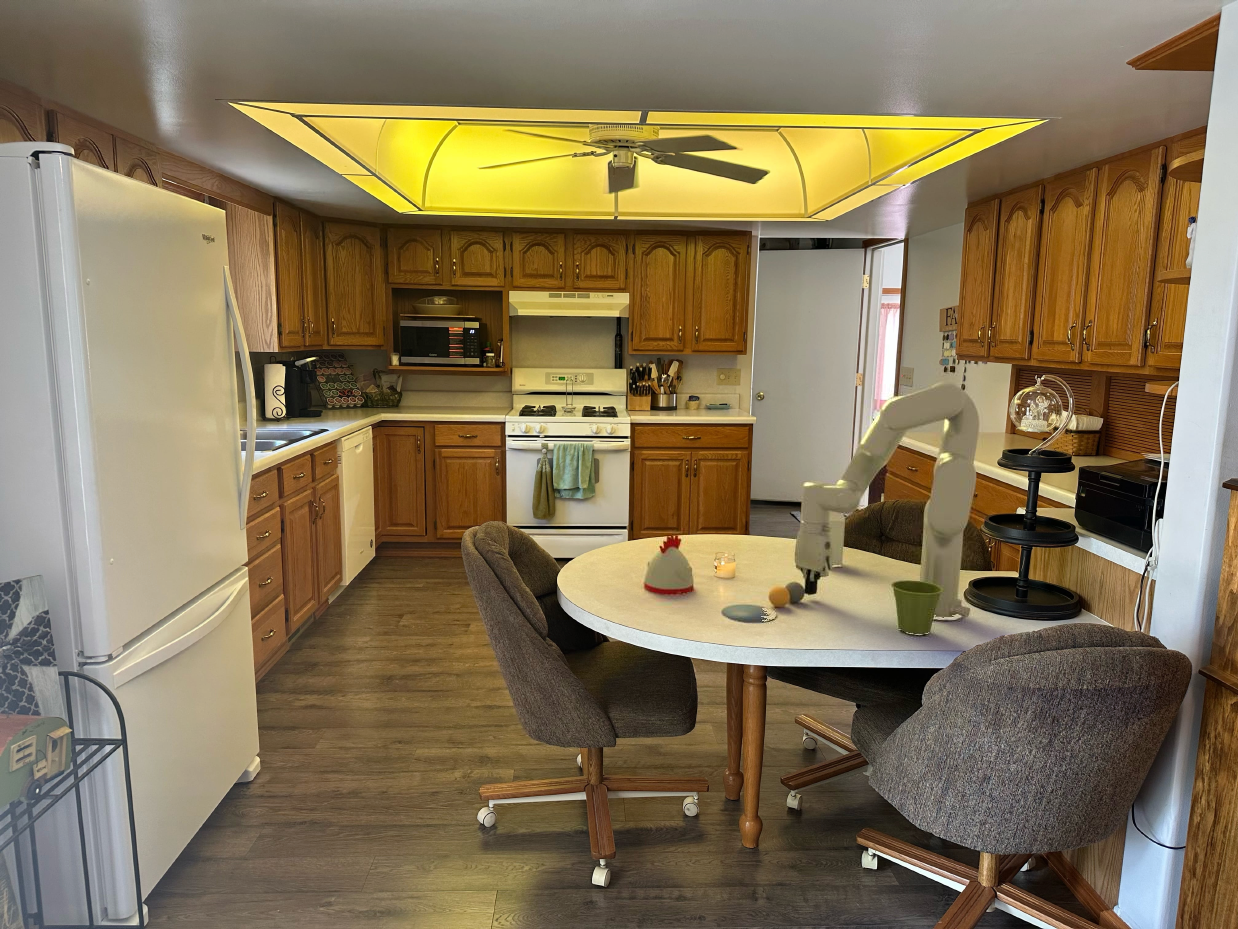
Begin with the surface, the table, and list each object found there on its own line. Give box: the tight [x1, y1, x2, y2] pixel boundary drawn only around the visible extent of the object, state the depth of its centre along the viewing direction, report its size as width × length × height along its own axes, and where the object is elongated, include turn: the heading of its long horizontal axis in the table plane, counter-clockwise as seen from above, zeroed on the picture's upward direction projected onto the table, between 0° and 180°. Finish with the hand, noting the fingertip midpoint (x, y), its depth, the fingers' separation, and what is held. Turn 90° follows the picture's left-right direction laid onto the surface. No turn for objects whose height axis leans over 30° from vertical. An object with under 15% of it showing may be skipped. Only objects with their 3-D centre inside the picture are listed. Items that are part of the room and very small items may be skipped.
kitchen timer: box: [643, 534, 694, 596], centre depth 233 cm, size 14×14×15 cm
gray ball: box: [784, 581, 806, 603], centre depth 223 cm, size 6×6×6 cm
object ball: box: [768, 585, 790, 608], centre depth 219 cm, size 6×6×6 cm
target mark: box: [721, 603, 770, 623], centre depth 213 cm, size 14×14×1 cm
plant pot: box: [890, 580, 943, 635], centre depth 202 cm, size 12×12×11 cm
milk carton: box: [829, 511, 846, 566], centre depth 262 cm, size 7×7×19 cm
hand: (810, 593), depth 226 cm, fingers closed
